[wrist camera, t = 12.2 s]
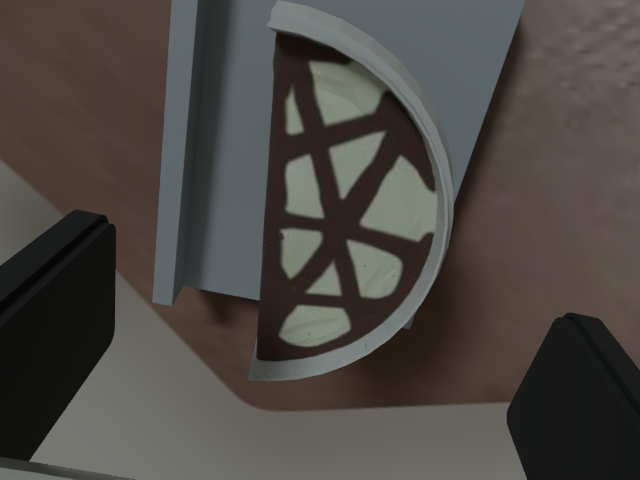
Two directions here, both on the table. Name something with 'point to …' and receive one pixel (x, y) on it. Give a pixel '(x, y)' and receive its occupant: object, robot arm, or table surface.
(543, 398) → the robot arm
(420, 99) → the food container
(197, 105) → the stand
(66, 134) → the table surface
